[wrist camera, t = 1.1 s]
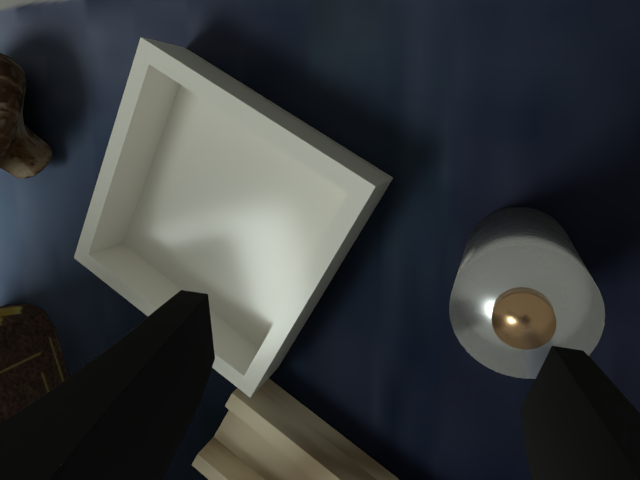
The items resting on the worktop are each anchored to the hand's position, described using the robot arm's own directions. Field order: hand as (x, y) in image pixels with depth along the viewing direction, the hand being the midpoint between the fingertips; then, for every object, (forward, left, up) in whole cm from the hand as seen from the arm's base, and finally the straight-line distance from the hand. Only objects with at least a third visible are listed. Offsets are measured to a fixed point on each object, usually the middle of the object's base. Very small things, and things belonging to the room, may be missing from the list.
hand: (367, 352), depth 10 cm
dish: (+9, +5, -11) cm, 15 cm away
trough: (-2, +15, -11) cm, 18 cm away
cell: (-3, -1, -11) cm, 11 cm away
